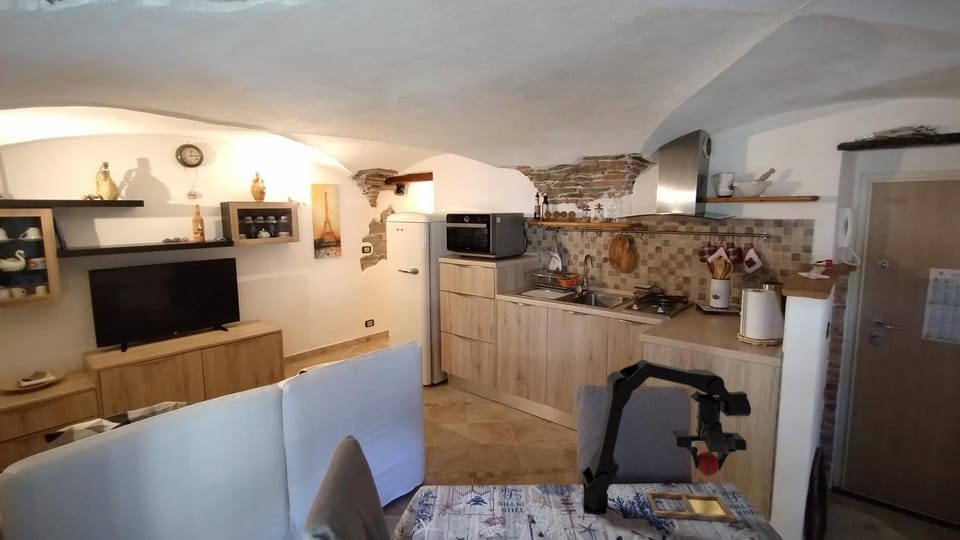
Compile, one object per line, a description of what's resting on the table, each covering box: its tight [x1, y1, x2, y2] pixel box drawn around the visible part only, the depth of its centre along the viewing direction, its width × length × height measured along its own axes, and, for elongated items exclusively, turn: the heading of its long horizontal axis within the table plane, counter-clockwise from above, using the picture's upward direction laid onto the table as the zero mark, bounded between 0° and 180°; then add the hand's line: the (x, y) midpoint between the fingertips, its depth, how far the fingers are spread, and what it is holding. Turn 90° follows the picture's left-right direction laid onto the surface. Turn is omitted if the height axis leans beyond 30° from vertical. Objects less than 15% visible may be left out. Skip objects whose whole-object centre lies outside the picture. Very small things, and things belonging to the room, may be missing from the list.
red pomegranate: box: [697, 448, 719, 477], centre depth 130 cm, size 6×6×8 cm
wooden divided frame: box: [645, 490, 736, 523], centre depth 132 cm, size 21×11×1 cm, turn 83°
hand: (707, 468), depth 131 cm, fingers closed on red pomegranate, 6 cm apart
